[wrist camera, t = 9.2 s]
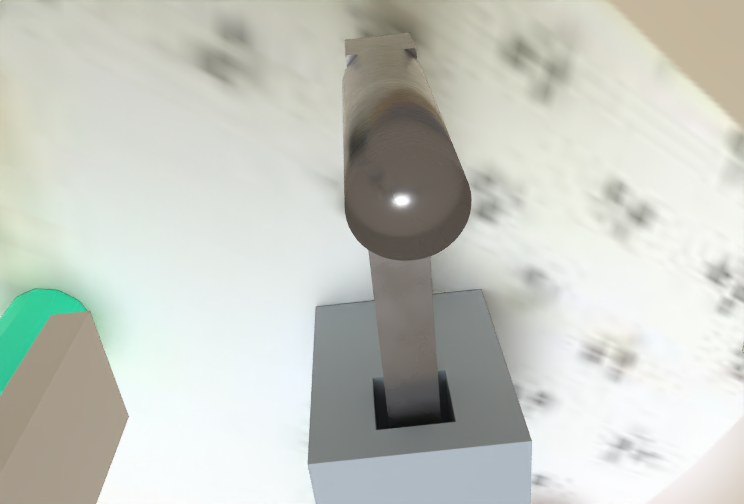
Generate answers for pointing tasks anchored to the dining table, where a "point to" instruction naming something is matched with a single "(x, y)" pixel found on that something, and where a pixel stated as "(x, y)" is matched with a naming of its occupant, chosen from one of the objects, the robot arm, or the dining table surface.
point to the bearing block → (416, 443)
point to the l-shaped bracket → (400, 210)
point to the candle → (28, 325)
